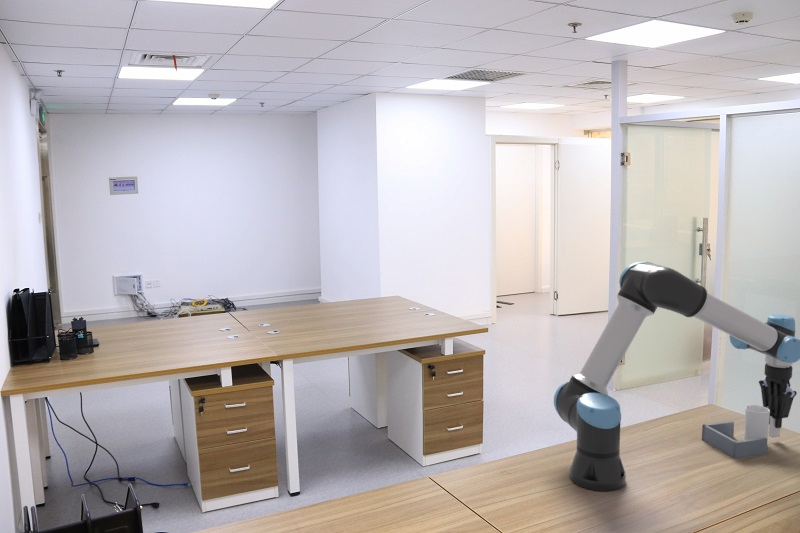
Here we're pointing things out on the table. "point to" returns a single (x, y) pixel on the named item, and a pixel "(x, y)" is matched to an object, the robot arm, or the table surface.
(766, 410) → the mug
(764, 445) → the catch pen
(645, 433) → the table surface
